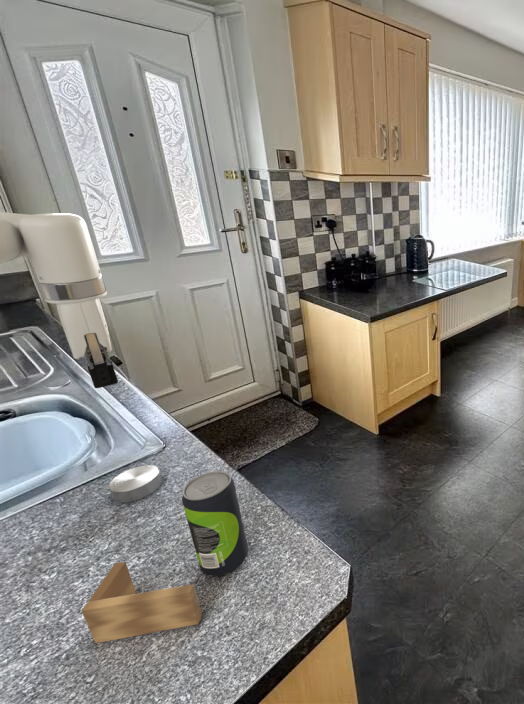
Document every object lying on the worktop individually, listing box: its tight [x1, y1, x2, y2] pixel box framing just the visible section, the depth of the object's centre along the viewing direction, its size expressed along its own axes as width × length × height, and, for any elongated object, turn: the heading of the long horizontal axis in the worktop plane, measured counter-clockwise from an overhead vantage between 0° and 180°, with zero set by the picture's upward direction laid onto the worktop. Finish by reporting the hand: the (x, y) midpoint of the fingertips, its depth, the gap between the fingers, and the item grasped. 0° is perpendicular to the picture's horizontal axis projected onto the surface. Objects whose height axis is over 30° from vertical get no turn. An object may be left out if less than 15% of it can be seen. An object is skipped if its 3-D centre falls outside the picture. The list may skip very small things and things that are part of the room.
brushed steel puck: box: [108, 464, 163, 504], centre depth 78 cm, size 7×7×2 cm
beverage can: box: [181, 470, 249, 577], centre depth 63 cm, size 6×6×15 cm
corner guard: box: [81, 561, 203, 644], centre depth 57 cm, size 12×7×6 cm, turn 104°
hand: (106, 384), depth 77 cm, fingers closed
